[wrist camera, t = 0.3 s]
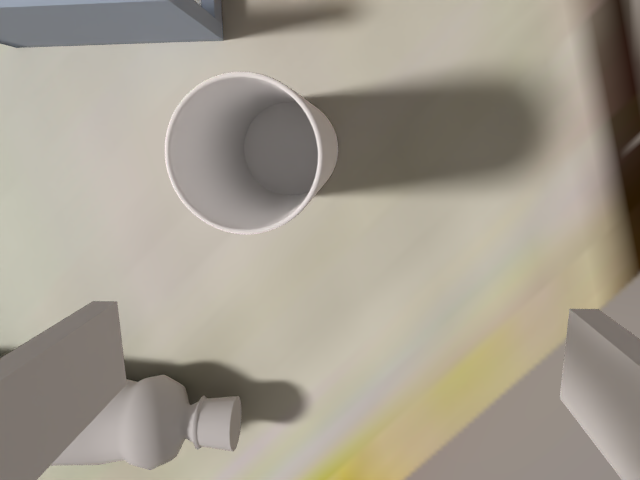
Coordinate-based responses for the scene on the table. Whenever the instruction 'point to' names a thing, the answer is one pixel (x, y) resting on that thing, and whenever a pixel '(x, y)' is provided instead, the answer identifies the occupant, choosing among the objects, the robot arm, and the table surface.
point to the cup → (248, 152)
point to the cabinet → (108, 22)
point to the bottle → (154, 426)
